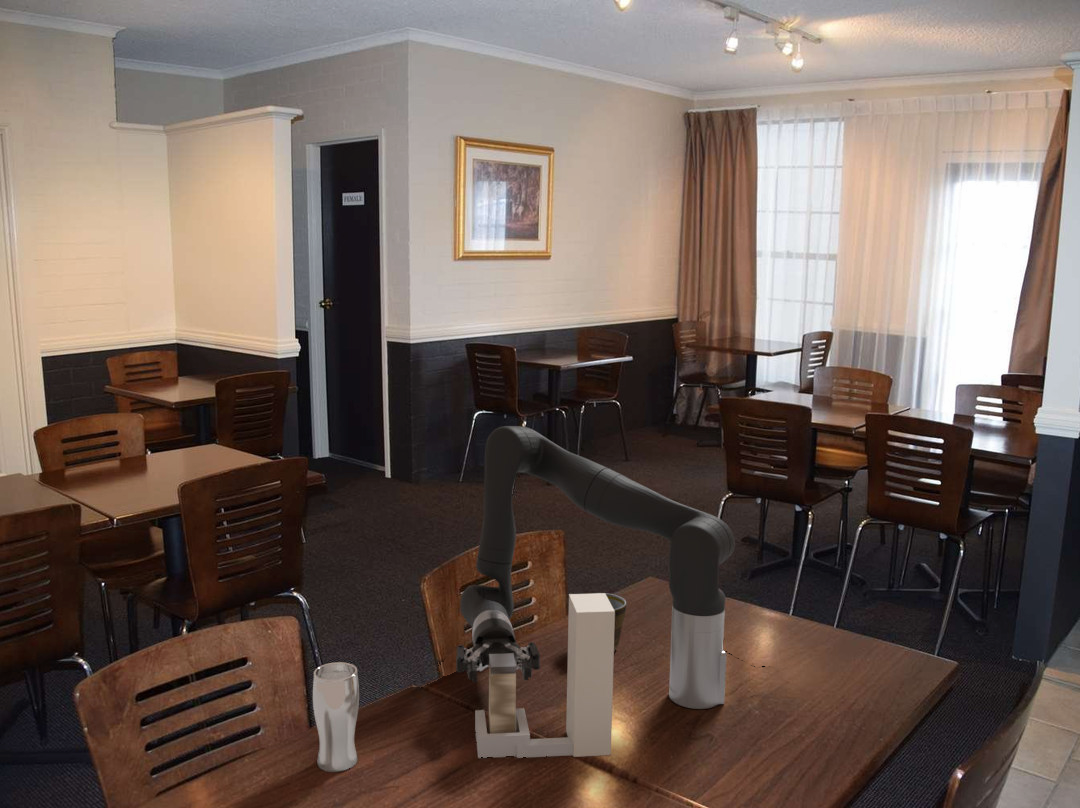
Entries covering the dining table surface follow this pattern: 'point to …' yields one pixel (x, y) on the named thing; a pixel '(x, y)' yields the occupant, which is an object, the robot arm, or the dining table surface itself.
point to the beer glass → (336, 714)
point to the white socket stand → (571, 691)
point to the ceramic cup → (617, 615)
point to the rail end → (502, 693)
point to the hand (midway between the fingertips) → (500, 676)
